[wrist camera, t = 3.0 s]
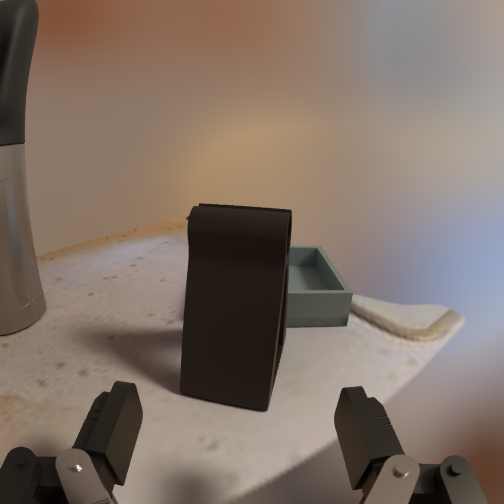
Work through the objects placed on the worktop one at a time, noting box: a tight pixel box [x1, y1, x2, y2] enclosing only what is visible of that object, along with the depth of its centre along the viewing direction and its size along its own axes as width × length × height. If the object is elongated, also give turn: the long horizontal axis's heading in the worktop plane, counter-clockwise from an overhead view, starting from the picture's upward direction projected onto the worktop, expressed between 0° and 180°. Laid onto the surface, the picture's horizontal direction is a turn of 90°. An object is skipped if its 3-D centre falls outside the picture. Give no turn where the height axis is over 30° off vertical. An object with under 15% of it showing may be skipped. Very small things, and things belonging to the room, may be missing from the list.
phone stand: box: [180, 204, 292, 411], centre depth 21 cm, size 9×6×12 cm, turn 167°
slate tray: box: [286, 246, 353, 327], centre depth 34 cm, size 12×13×4 cm
